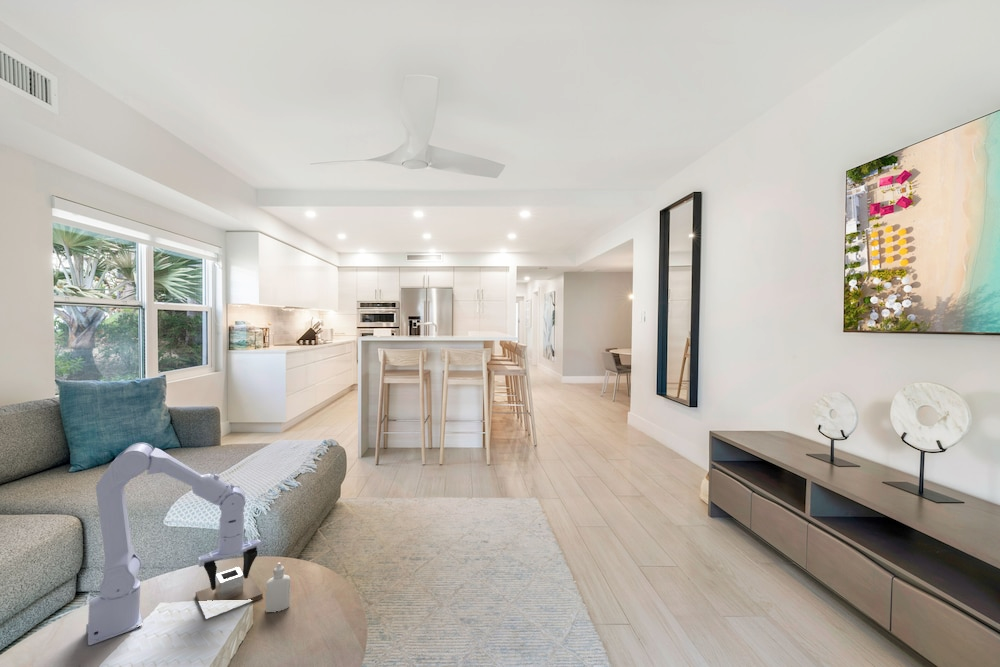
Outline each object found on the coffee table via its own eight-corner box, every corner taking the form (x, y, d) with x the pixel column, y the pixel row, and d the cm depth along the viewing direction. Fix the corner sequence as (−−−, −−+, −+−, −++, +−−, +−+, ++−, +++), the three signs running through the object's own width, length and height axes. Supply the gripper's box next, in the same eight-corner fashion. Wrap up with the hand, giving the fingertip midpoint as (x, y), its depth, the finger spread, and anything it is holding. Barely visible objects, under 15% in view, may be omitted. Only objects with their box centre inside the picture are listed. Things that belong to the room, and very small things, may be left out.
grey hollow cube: (219, 601, 110) (220, 582, 110) (215, 592, 113) (216, 574, 114) (243, 593, 114) (243, 574, 114) (237, 584, 117) (238, 566, 117)
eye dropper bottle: (272, 602, 112) (273, 558, 112) (292, 603, 111) (293, 559, 112) (262, 613, 107) (263, 567, 107) (283, 614, 107) (284, 568, 107)
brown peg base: (205, 620, 104) (206, 599, 104) (195, 596, 113) (196, 577, 113) (262, 597, 114) (263, 578, 114) (248, 578, 123) (249, 560, 123)
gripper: (256, 520, 122) (254, 566, 121) (196, 536, 111) (194, 586, 111) (263, 528, 117) (262, 576, 117) (202, 545, 106) (199, 598, 106)
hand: (229, 582), depth 113 cm, fingers open, 7 cm apart
